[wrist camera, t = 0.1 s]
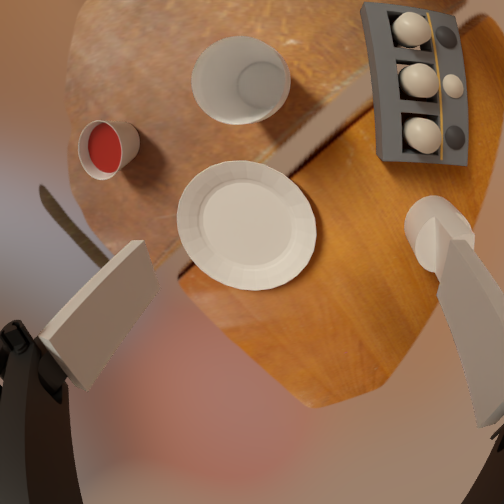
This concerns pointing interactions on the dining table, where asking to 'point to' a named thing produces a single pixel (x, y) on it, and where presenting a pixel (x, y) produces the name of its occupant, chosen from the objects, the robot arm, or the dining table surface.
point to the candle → (107, 147)
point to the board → (436, 107)
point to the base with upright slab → (435, 231)
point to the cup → (240, 80)
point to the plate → (246, 225)
